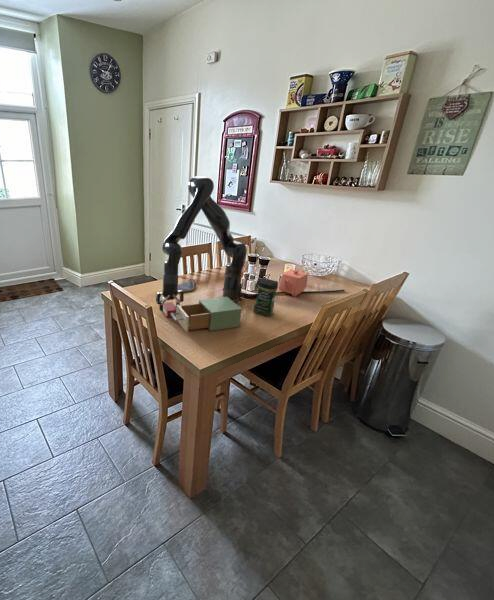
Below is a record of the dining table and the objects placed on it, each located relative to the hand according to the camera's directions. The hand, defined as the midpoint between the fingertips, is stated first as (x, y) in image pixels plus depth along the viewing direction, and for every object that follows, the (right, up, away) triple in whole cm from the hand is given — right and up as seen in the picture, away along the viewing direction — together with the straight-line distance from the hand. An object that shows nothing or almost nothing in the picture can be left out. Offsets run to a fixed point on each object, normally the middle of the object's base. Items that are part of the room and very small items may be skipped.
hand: (169, 309), depth 170 cm
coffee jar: (+50, -2, +3) cm, 50 cm away
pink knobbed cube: (+75, +10, +28) cm, 80 cm away
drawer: (+10, -6, -12) cm, 17 cm away
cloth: (+10, +13, +32) cm, 36 cm away
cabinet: (+24, -6, -8) cm, 26 cm away
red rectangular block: (0, -1, +1) cm, 2 cm away
